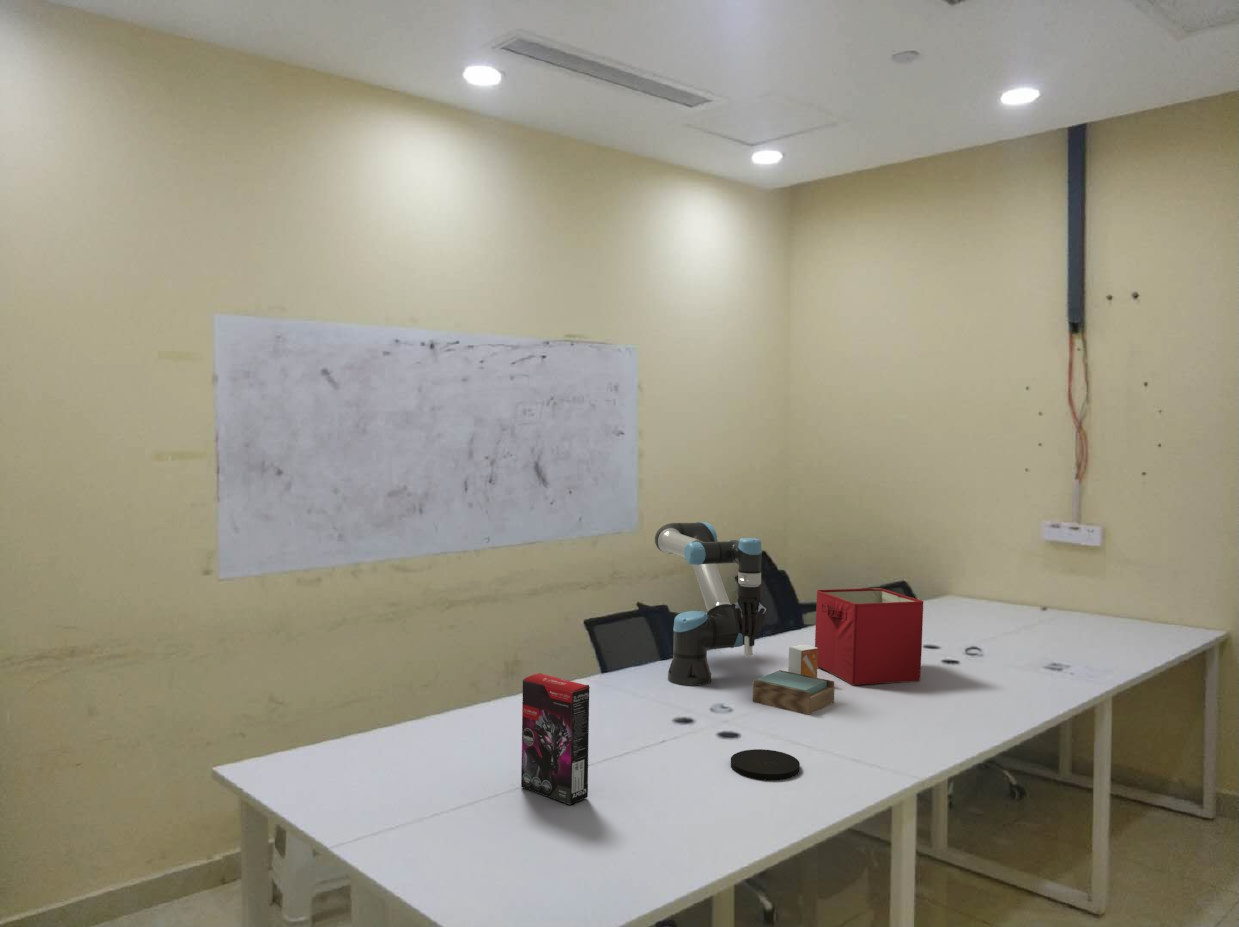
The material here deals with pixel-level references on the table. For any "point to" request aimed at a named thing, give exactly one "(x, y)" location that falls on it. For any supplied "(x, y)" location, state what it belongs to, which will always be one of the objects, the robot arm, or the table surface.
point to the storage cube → (869, 635)
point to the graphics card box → (555, 737)
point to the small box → (803, 660)
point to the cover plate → (794, 681)
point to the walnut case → (793, 696)
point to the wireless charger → (765, 765)
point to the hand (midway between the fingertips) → (748, 655)
